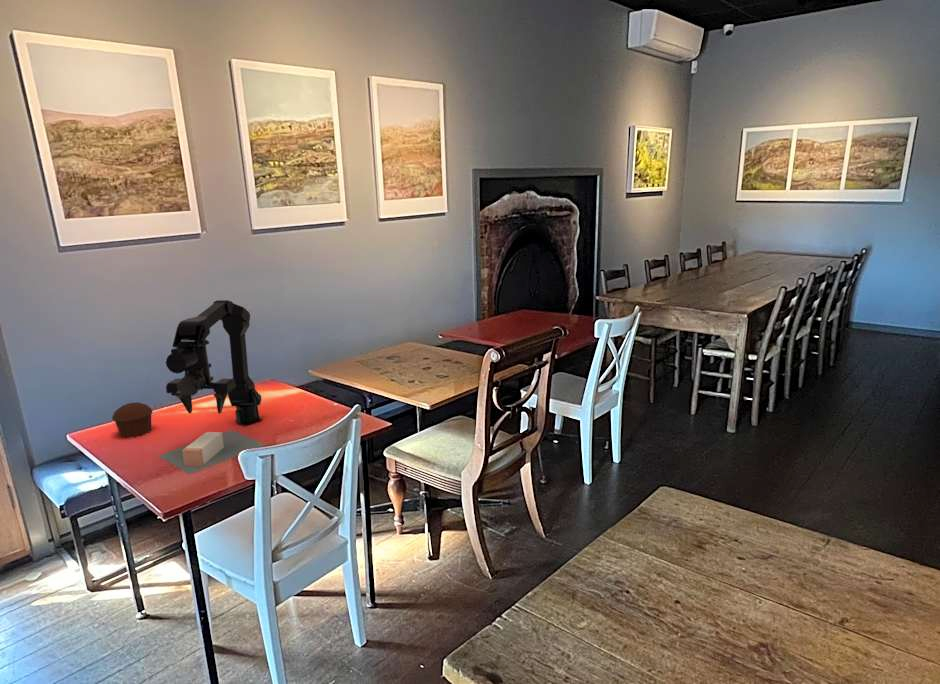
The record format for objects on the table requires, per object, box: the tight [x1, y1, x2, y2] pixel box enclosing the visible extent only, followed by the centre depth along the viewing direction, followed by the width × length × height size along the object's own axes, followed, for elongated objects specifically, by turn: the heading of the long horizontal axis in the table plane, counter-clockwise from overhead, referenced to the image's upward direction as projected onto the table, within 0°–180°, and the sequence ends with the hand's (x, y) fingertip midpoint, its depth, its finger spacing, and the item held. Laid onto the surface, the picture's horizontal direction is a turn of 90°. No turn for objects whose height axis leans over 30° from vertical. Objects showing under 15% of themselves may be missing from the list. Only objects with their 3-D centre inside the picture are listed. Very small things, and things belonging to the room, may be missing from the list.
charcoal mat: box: [157, 429, 266, 475], centre depth 177 cm, size 24×20×1 cm
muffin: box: [111, 401, 154, 438], centre depth 191 cm, size 12×11×10 cm
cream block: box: [182, 431, 224, 467], centre depth 172 cm, size 5×5×13 cm
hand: (205, 413), depth 173 cm, fingers open, 9 cm apart
